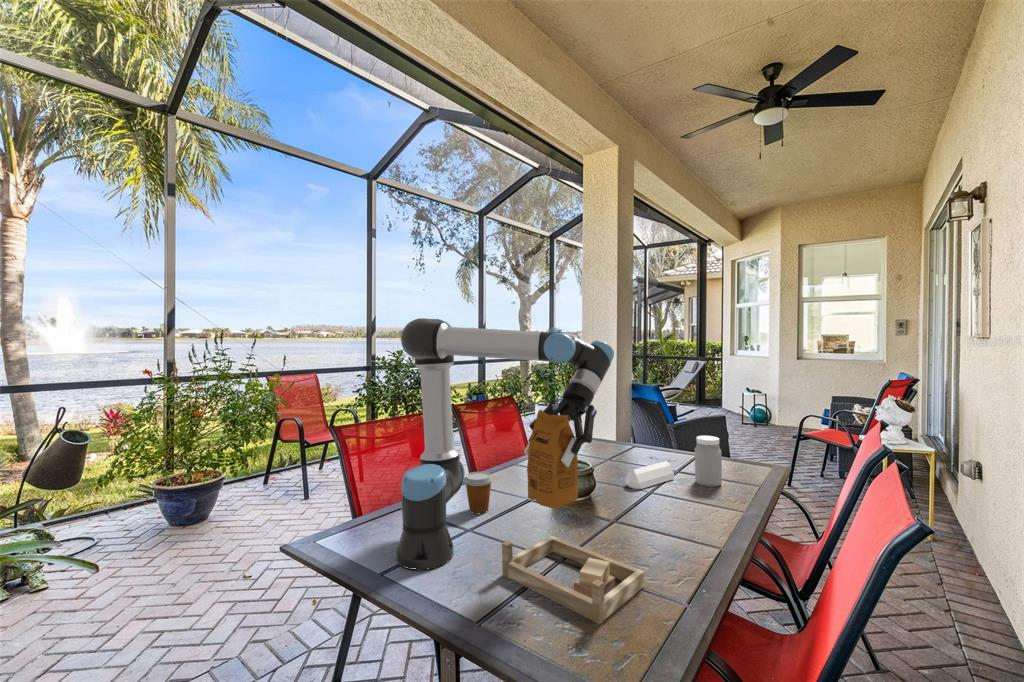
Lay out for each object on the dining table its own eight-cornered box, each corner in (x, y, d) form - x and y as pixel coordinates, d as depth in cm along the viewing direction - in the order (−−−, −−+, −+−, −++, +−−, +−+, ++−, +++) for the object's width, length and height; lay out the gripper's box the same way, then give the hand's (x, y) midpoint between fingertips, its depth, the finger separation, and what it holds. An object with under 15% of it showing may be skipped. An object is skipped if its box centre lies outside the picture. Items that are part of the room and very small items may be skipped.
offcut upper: (601, 589, 101) (601, 576, 101) (580, 584, 103) (579, 571, 103) (609, 574, 107) (609, 562, 107) (589, 569, 109) (589, 557, 109)
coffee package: (551, 488, 121) (550, 406, 121) (583, 503, 111) (583, 413, 110) (521, 496, 115) (520, 411, 115) (552, 512, 105) (551, 418, 105)
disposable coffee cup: (480, 518, 147) (479, 481, 147) (459, 512, 153) (458, 476, 153) (498, 509, 155) (498, 474, 155) (477, 503, 161) (477, 469, 160)
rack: (599, 624, 93) (599, 586, 92) (502, 575, 112) (502, 543, 112) (645, 586, 106) (644, 552, 106) (551, 548, 126) (551, 519, 126)
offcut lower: (596, 605, 100) (596, 591, 100) (574, 594, 104) (574, 581, 104) (615, 590, 106) (615, 577, 106) (593, 580, 110) (593, 568, 110)
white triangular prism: (658, 464, 191) (618, 475, 178) (671, 459, 186) (631, 470, 172) (666, 482, 188) (626, 494, 175) (679, 477, 183) (639, 489, 169)
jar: (689, 481, 179) (688, 436, 179) (707, 478, 184) (706, 434, 183) (709, 489, 171) (708, 441, 170) (727, 485, 175) (727, 438, 174)
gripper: (625, 402, 115) (591, 477, 105) (553, 395, 132) (517, 458, 121) (614, 383, 112) (578, 459, 101) (541, 378, 128) (503, 442, 117)
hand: (545, 459), depth 111 cm, fingers closed on coffee package, 11 cm apart
